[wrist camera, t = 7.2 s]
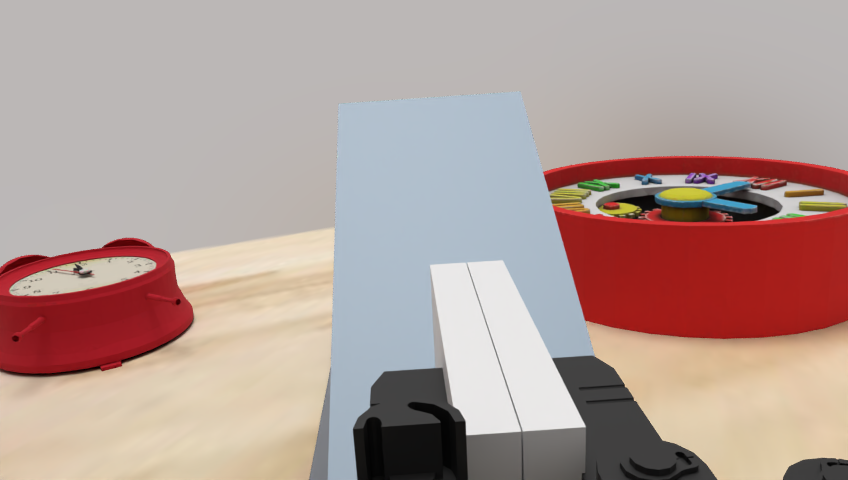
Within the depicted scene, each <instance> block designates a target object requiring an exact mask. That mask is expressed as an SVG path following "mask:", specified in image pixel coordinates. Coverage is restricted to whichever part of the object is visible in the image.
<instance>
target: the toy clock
mask: <svg viewBox="0 0 848 480" xmlns="http://www.w3.org/2000/svg"><path fill="white" fill-rule="evenodd" d="M543 174H544V177H545V181H546V184H547V188H548V191H549V195H550V199H551V202H552V206H553V209H554V213H555V216H556V220H557V223H558V227H559V231H560V234H561V238H562V241H563V245H564V248H565V252H566V255H567V259H568V262H569V266H570V270H571V273H572V277H573V280H574V284H575V287H576V291H577V294H578V298H579V301H580V305H581V309H582V312H583V316H584V319H585V321H590V322H594V323H598V324H602V325H606V326H610V327H614V328H619V329H625V330H631V331H637V332H643V333H649V334H659V335H669V336H678V337H693V338H720V339H730V338H762V337H771V336H781V335H790V334H798V333H803V332H808V331H813V330H818V329H823V328H827V327H830V326H833V325H836V324H839V323H842V322H845V321H847V320H848V171H845V170H840V169H836V168H832V167H826V166H820V165H814V164H807V163H800V162H792V161H783V160H772V159H760V158H742V157H717V156H715V157H714V156H670V157H668V156H667V157H644V158H629V159H617V160H606V161H597V162H588V163H582V164H576V165H570V166H565V167H560V168H556V169H551V170H549V171H545V172H543Z"/></svg>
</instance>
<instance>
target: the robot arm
mask: <svg viewBox="0 0 848 480" xmlns="http://www.w3.org/2000/svg"><path fill="white" fill-rule="evenodd" d="M430 277H431V296H432V315H433V334H434V354H435V368H429V369H414V370H399V371H384V372H383V373H382V374H381V376H380V377H379V378H378V379H377V380H376V382H375V383H374V384H373V385H372V386H371V393H370V408H369V409H368V410H367V411H365V412H364V413H363V414H362V415H360V416H359V417H358V418H357V421H356V423H355V425H354V427H353V438H354V449H355V460H356V471H357V480H717V478H716V477H715V476H714V474H713V473H712V472H711V470H710V469H709V468H708V466H707V465H706V464H705V463H704V462H703V461H702V460H701V459H700V458H699V457H698V456H697V455H695V454H694V453H693V452H691V451H689V450H687V449H685V448H683V447H681V446H679V445H677V444H674V443H670V442H666V441H662V439H661V438H660V436H659V435H658V433H657V432H656V430H655V429H654V427H653V426H652V424H651V423H650V421H649V420H648V419H647V417H646V416H645V414H644V413H643V411H642V410H641V408H640V407H639V405H638V404H637V402H636V401H634V398H633V396H632V395H631V393H630V392H629V390H628V389H627V388H625V384H624V383H623V381H622V380H621V378H620V377H619V375H618V374H617V372H616V371H615V369H614V368H612V367H611V366H609V365H608V364H606V363H604V362H603V361H601V360H599V359H598V358H596V357H594V356H593V355H590V356H575V357H560V358H551V356H550V354H549V352H548V350H547V348H546V346H545V344H544V342H543V340H542V338H541V336H540V334H539V332H538V330H537V328H536V326H535V324H534V322H533V320H532V318H531V316H530V314H529V312H528V310H527V308H526V306H525V304H524V302H523V300H522V298H521V296H520V294H519V292H518V290H517V288H516V286H515V284H514V282H513V280H512V278H511V276H510V274H509V272H508V270H507V268H506V266H505V264H504V262H503V260H498V261H482V262H467V264H466V263H450V264H434V265H430ZM783 480H848V460H843V459H839V460H838V459H836V458H817V459H807V460H802V461H800V462H798V463H796V464H793V465H791V466H789V468H788V470H787V471H786V473H785V475H784V477H783Z"/></svg>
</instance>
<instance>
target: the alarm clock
mask: <svg viewBox="0 0 848 480" xmlns="http://www.w3.org/2000/svg"><path fill="white" fill-rule="evenodd" d="M193 317H194V315H193V309H192V306H191V304H190V303H189V302H188V300H187V299H186V298H185V297H184V295H183V294H182V292H181V290H180V289H179V287H178V285H177V280H176V274H175V265H174V261H173V259H172V258H171V255H170V253H169V252H167V251H165V250H163V249H160V248H155V247H154V246H152V245H151V244H150V243H148V242H146V241H144V240H141V239H137V238H122V239H117V240H114V241H112V242H109V243H108V244H106V245H104V246H103V247H102V248H99V249H91V250H85V251H79V252H74V253H69V254H63V255H58V256H55V257H47V256H42V255H26V256H21V257H18V258H15V259H12V260H10V261H8V262H7V263H6V264H4V265H3V266H1V268H0V369H3V370H6V371H12V372H18V373H56V372H65V371H72V370H79V369H86V368H91V367H96V366H100V367H101V370H102V371H105V370H109V369H113V368H117V367H120V366H122V363H121V361H120V360H123V359H126V358H129V357H133V356H136V355H138V354H141V353H143V352H146V351H149V350H151V349H154V348H156V347H158V346H160V345H162V344H164V343H166V342H168V341H170V340H172V339H173V338H175V337H176V336H178V335H180V334H181V333H182V332H183V331H184V330H186V329H187V328H188V326H189V325H190V324H191V322H192V321H193Z"/></svg>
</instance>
